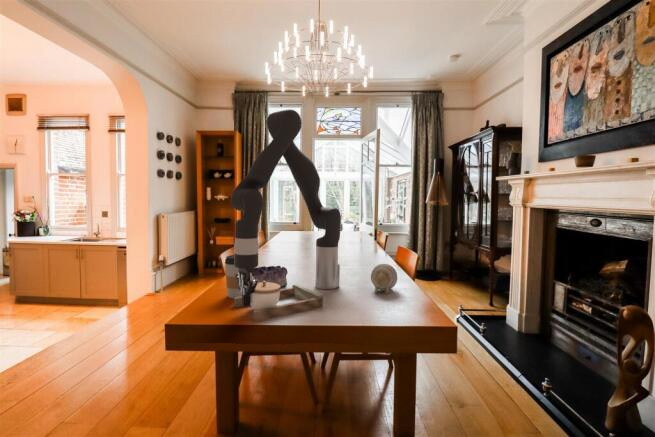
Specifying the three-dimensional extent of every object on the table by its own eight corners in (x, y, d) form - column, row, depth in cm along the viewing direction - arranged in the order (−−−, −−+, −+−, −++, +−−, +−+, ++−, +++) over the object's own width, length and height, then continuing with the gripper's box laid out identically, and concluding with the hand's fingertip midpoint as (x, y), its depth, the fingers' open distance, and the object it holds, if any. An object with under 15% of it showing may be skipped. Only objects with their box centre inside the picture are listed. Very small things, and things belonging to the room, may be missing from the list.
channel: (297, 294, 127) (297, 284, 127) (322, 306, 114) (323, 294, 113) (234, 306, 112) (234, 294, 112) (255, 321, 99) (255, 308, 99)
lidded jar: (251, 316, 102) (252, 286, 102) (243, 306, 112) (244, 278, 111) (284, 312, 107) (285, 283, 107) (274, 302, 117) (274, 276, 116)
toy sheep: (367, 295, 128) (368, 266, 127) (373, 284, 144) (374, 259, 143) (395, 297, 125) (396, 268, 124) (398, 286, 141) (399, 260, 140)
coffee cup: (241, 300, 119) (241, 259, 118) (220, 298, 121) (220, 257, 120) (251, 293, 127) (251, 255, 126) (231, 292, 129) (231, 254, 128)
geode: (237, 291, 131) (236, 265, 132) (239, 287, 142) (238, 263, 143) (288, 287, 135) (287, 262, 136) (286, 283, 146) (285, 260, 147)
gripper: (266, 253, 102) (265, 309, 103) (249, 248, 112) (248, 298, 113) (243, 255, 97) (242, 313, 98) (227, 249, 108) (227, 302, 109)
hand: (245, 305), depth 106 cm, fingers closed
